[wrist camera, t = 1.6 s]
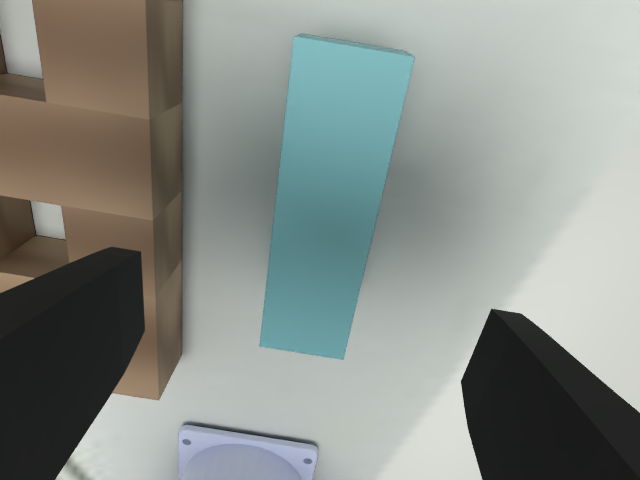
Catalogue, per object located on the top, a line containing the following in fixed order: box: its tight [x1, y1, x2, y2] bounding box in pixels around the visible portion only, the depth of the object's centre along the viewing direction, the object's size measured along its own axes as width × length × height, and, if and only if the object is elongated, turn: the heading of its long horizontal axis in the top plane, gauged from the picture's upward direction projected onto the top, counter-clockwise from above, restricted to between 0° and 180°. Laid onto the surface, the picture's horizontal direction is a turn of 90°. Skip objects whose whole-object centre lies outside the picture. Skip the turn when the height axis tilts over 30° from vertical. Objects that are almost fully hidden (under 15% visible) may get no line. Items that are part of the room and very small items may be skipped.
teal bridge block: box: [260, 34, 415, 360], centre depth 15 cm, size 10×3×5 cm, turn 171°
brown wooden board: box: [0, 0, 182, 400], centre depth 16 cm, size 22×10×3 cm, turn 171°
